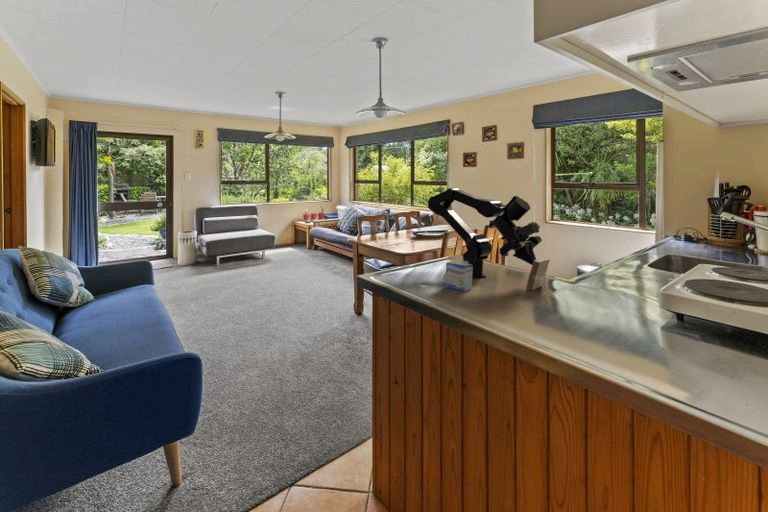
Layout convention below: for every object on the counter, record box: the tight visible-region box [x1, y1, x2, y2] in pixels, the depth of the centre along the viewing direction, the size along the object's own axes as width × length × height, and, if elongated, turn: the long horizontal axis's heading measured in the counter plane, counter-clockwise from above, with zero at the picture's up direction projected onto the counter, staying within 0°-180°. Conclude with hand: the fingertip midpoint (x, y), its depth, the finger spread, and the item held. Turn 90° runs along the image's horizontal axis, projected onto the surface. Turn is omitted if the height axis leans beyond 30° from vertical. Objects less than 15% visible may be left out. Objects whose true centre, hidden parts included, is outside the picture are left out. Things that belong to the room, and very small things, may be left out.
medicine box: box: [444, 261, 473, 292], centre depth 137 cm, size 8×4×9 cm, turn 47°
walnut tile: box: [525, 257, 551, 291], centre depth 136 cm, size 2×7×10 cm, turn 133°
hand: (536, 265), depth 136 cm, fingers closed
